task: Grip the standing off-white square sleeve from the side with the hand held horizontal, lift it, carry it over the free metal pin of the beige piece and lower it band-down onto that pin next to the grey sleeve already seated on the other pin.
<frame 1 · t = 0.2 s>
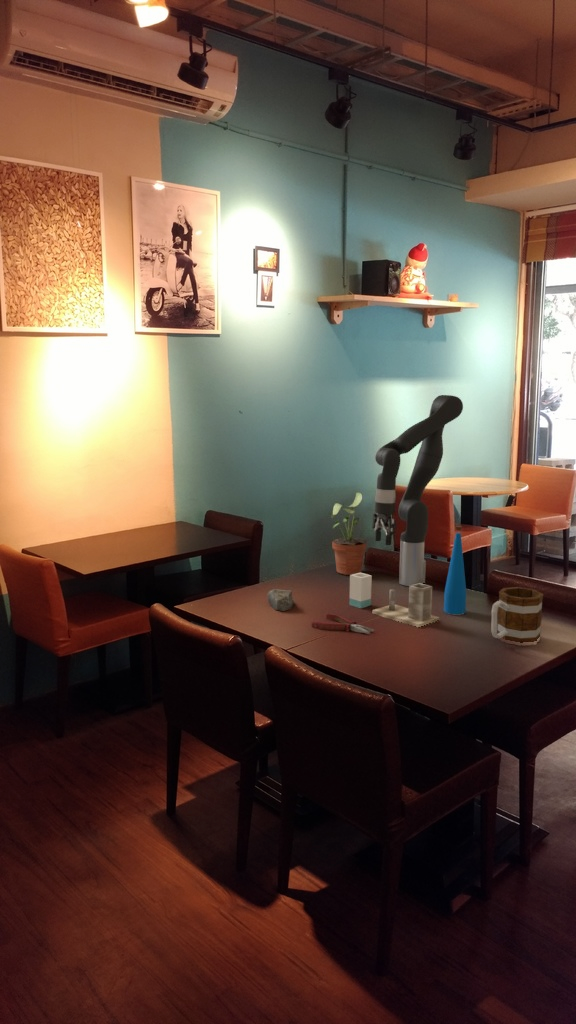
hand: (382, 542, 299), 18 cm above the table, tool pointing down, fingers open, 8 cm apart
mug: (511, 641, 244), on the table
rock: (282, 606, 279), on the table
sleeve: (360, 605, 279), on the table
potted plant: (346, 573, 324), on the table
beige piece: (405, 617, 266), on the table
pliers: (339, 630, 254), on the table
bottle: (454, 612, 272), on the table
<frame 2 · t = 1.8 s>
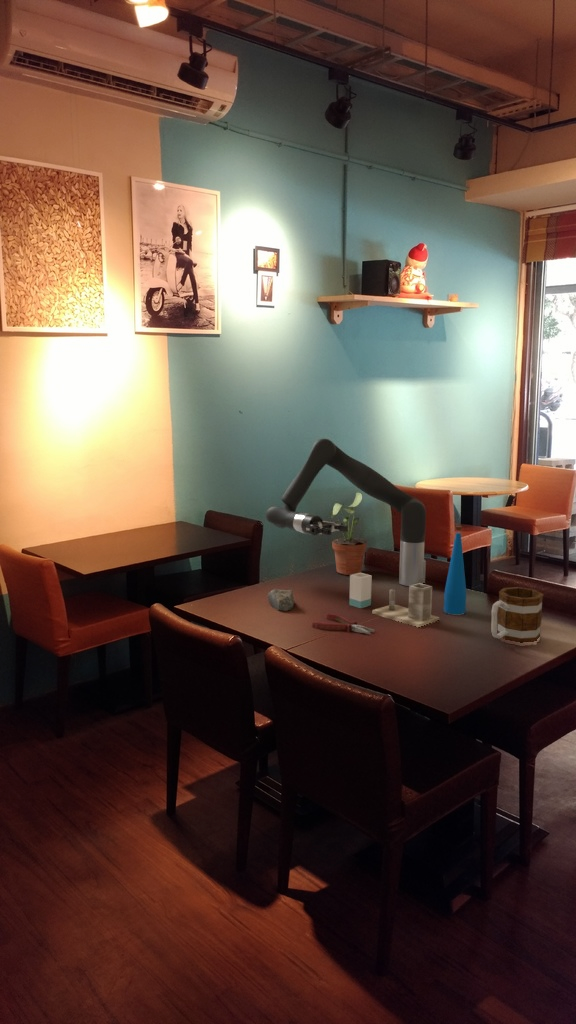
hand: (339, 530, 283), 25 cm above the table, tool horizontal, fingers open, 8 cm apart
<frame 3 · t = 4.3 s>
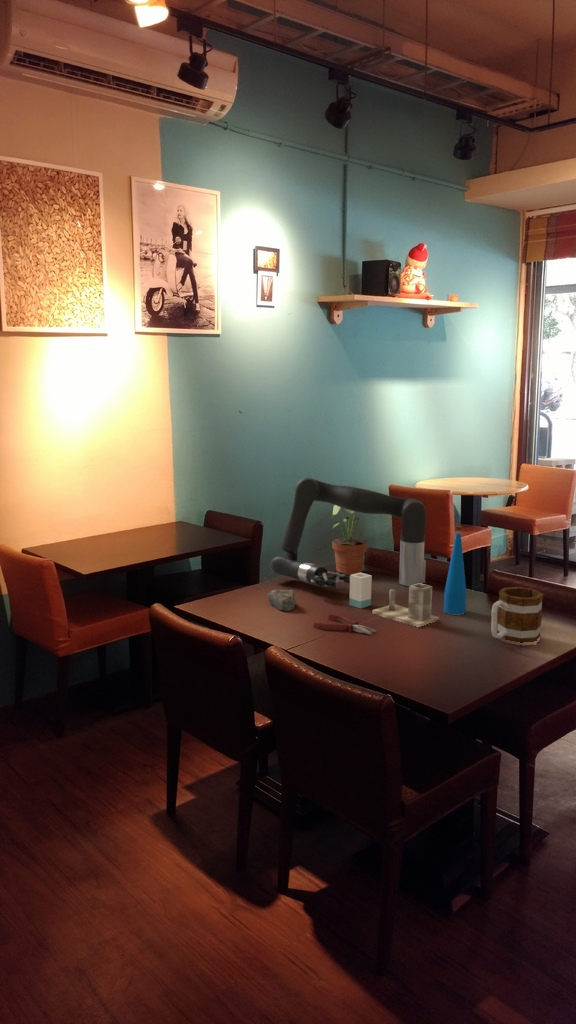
hand: (343, 582, 284), 6 cm above the table, tool horizontal, fingers open, 8 cm apart
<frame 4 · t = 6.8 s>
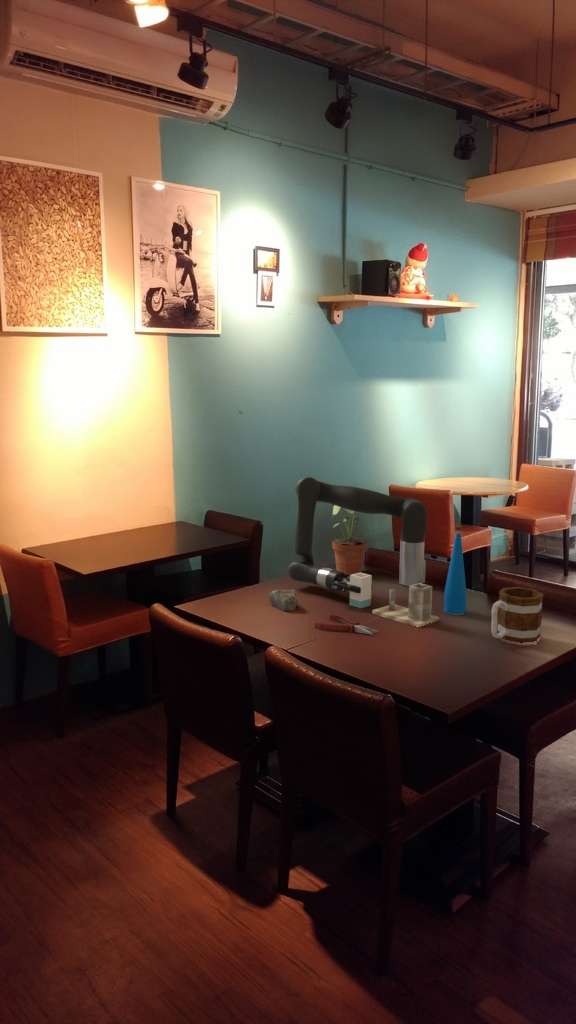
hand: (365, 589, 276), 7 cm above the table, tool horizontal, fingers closed on sleeve, 5 cm apart
sleeve: (360, 605, 279), on the table, touching gripper
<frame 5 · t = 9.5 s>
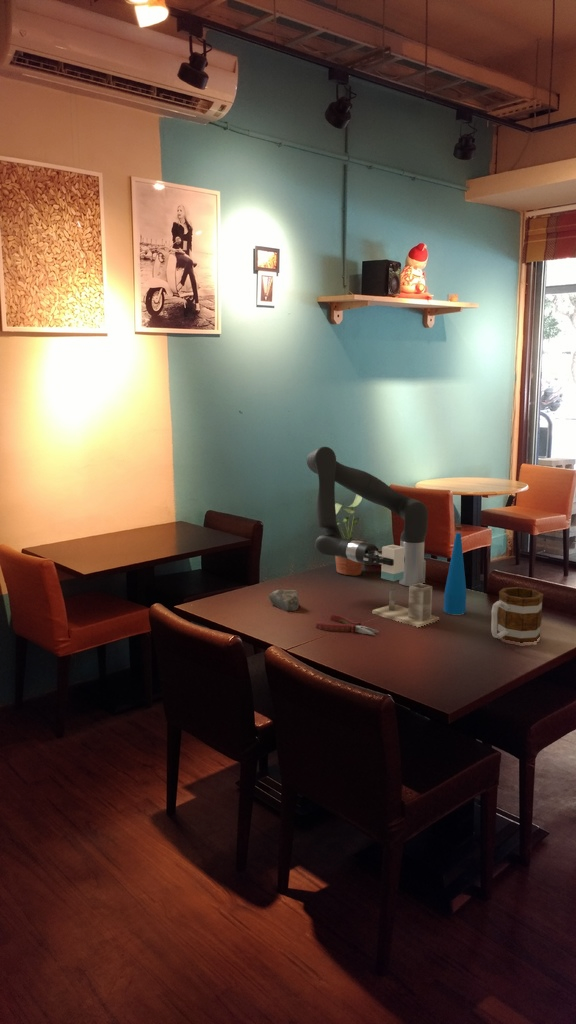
hand: (398, 561, 265), 19 cm above the table, tool horizontal, fingers closed on sleeve, 5 cm apart
sleeve: (392, 578, 268), point 12 cm above the table, touching gripper
when the fingers open (9 cm above the table, at t = 12.3 s): sleeve drops 1 cm, resting on beige piece.
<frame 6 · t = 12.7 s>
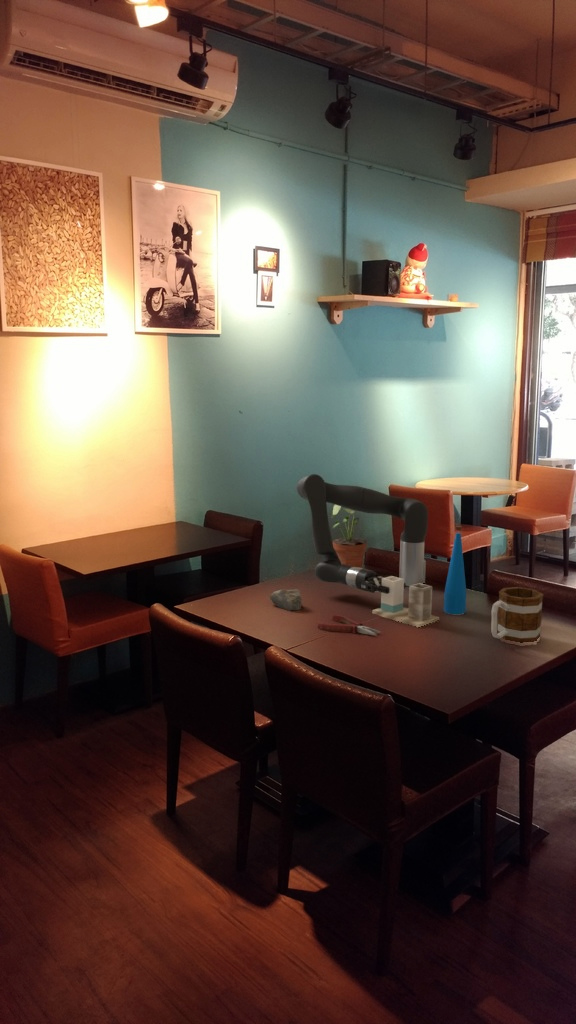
hand: (396, 588, 268), 9 cm above the table, tool horizontal, fingers open, 8 cm apart
sleeve: (391, 609, 270), point 1 cm above the table, touching beige piece
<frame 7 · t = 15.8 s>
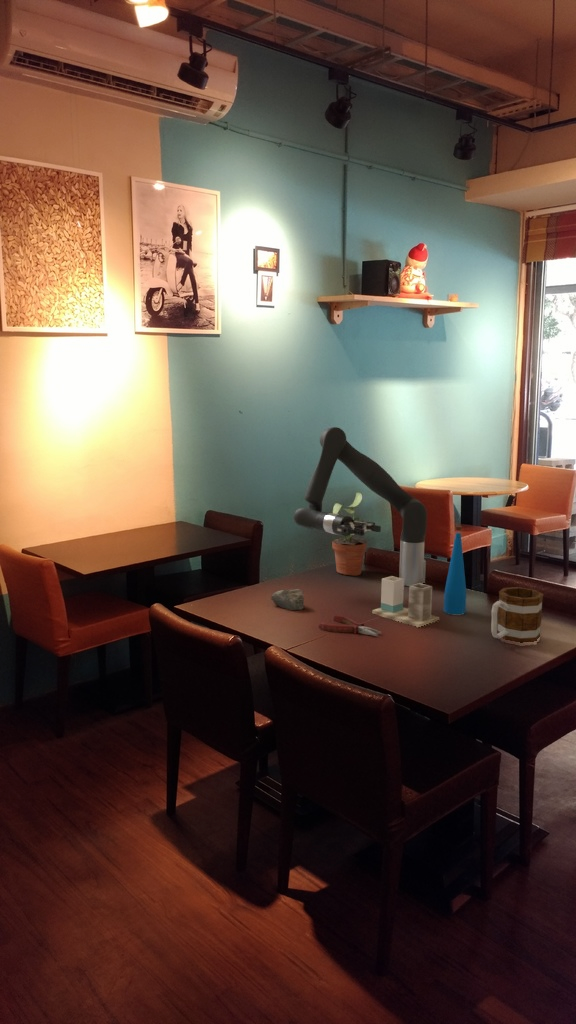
hand: (372, 531, 273), 27 cm above the table, tool horizontal, fingers open, 8 cm apart
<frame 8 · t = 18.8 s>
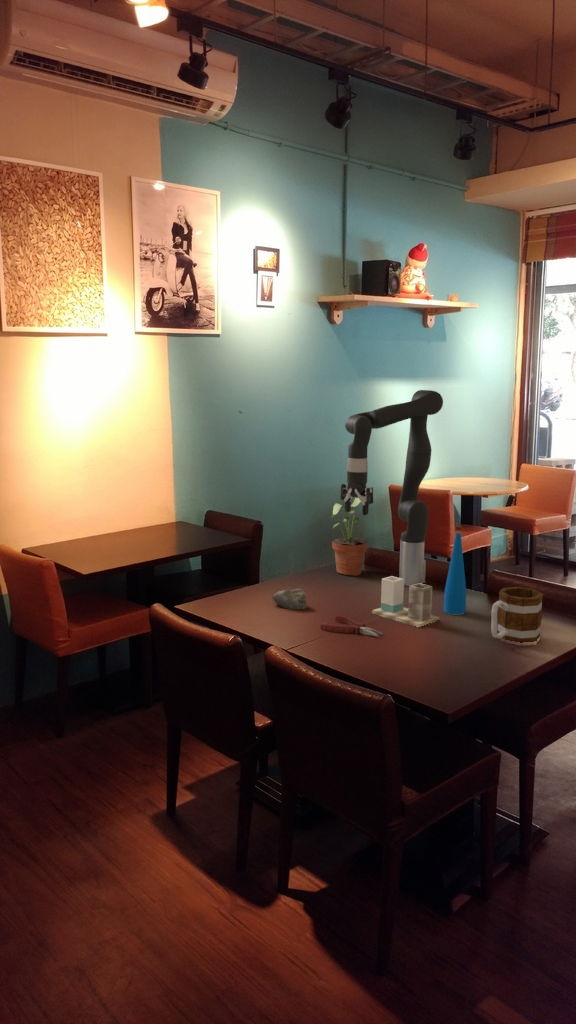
hand: (356, 513, 291), 30 cm above the table, tool pointing down, fingers open, 8 cm apart
at the end: sleeve 0.0 cm from the target spot, point 1.2 cm above the table; sleeve tilted 0°; the gripper is holding nothing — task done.
